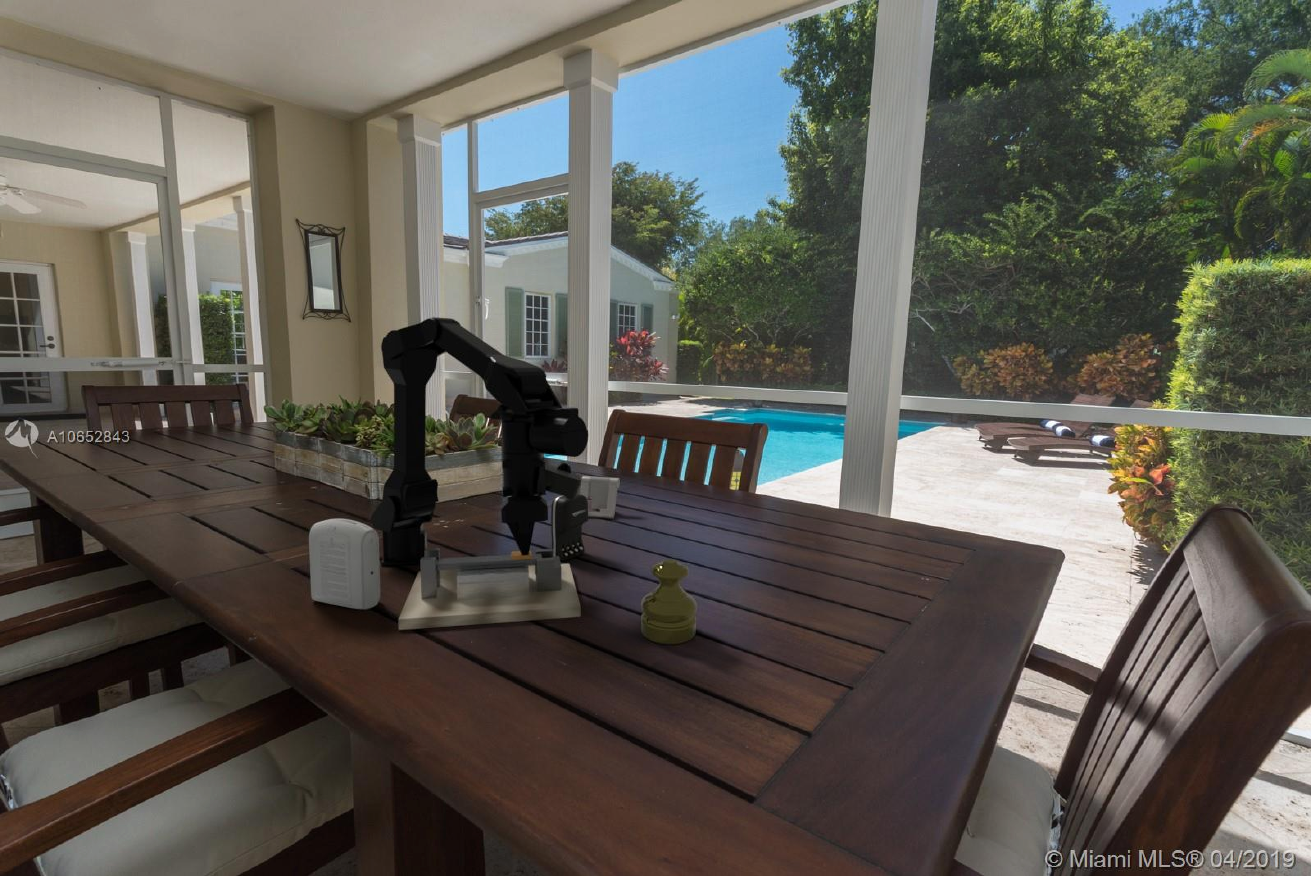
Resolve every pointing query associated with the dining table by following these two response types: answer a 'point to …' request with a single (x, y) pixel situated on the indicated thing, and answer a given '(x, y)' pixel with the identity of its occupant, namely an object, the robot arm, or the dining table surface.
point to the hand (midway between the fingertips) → (525, 553)
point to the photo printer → (344, 563)
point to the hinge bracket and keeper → (545, 577)
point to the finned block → (492, 583)
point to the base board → (488, 604)
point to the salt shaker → (669, 606)
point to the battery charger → (568, 526)
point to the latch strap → (489, 561)
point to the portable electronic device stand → (601, 494)
